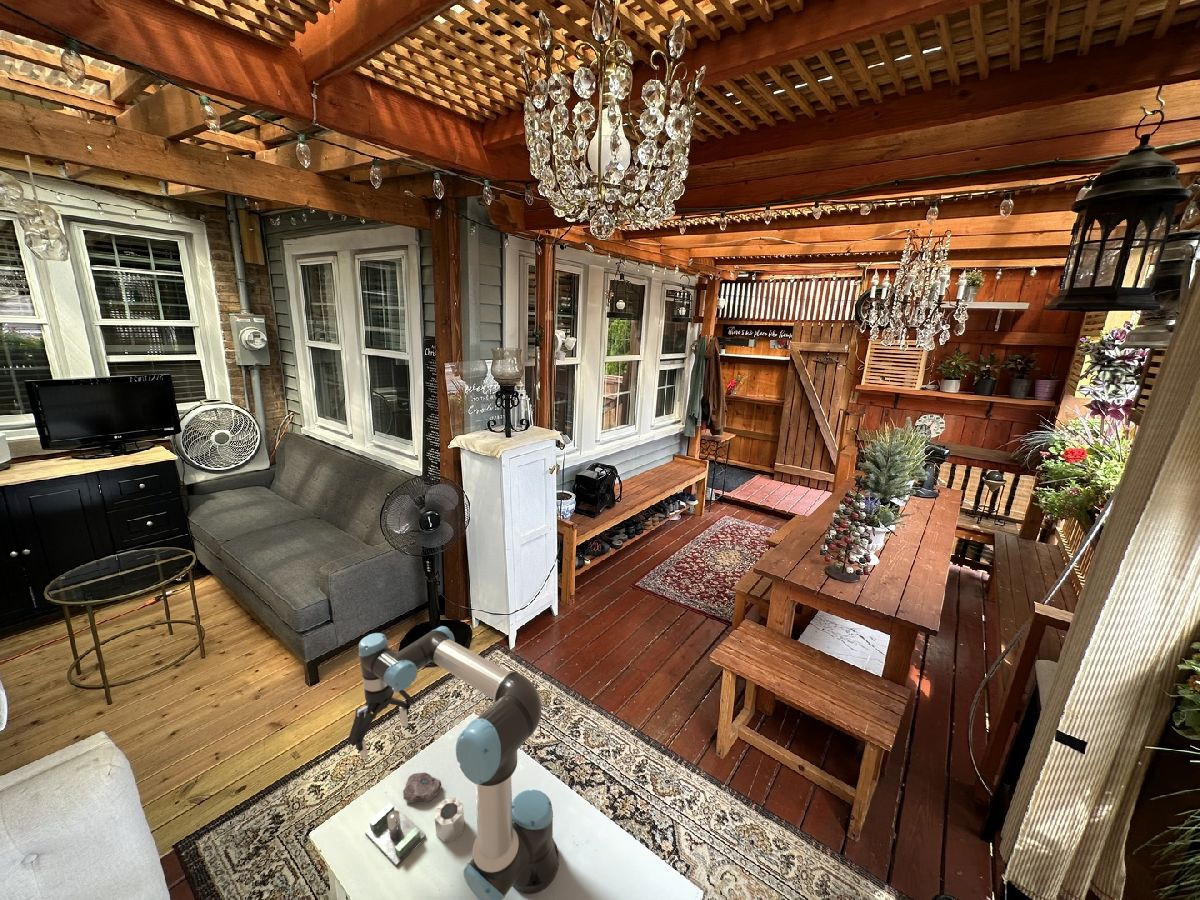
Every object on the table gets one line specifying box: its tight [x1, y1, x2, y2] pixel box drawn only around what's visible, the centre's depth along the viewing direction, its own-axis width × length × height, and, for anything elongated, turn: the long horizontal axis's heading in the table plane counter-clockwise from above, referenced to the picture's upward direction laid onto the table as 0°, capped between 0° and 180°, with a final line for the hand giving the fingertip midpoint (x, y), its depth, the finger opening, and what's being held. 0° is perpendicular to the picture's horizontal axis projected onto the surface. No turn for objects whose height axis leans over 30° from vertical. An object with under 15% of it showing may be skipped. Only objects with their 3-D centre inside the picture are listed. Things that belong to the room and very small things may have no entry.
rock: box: [402, 772, 442, 804], centre depth 157 cm, size 8×11×4 cm
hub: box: [434, 797, 465, 843], centre depth 146 cm, size 8×8×7 cm
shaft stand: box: [364, 802, 427, 868], centre depth 143 cm, size 16×10×8 cm, turn 56°
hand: (385, 740), depth 145 cm, fingers open, 13 cm apart
